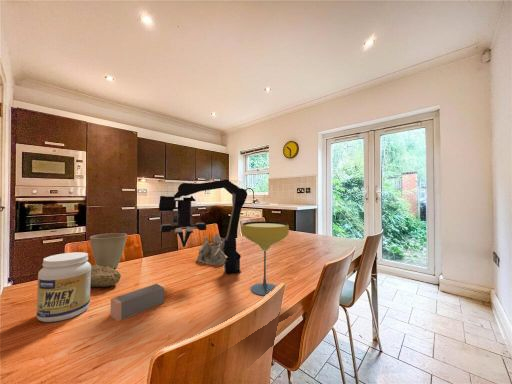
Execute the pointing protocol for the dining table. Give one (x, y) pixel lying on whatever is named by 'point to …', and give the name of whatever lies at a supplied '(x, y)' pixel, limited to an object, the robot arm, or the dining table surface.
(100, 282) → the brown rock
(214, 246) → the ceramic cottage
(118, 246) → the plant pot
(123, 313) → the charcoal block
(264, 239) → the cocktail glass
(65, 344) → the dining table surface
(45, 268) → the supplement tub
